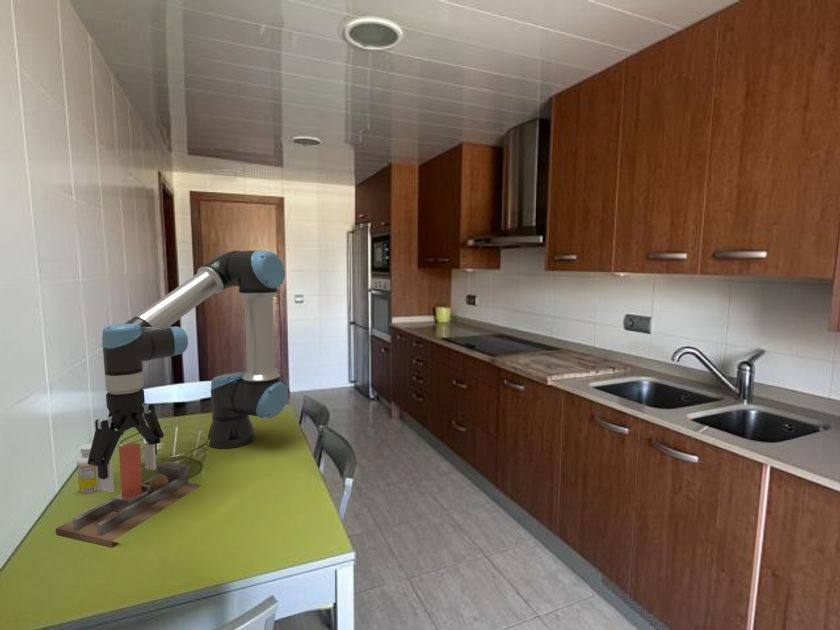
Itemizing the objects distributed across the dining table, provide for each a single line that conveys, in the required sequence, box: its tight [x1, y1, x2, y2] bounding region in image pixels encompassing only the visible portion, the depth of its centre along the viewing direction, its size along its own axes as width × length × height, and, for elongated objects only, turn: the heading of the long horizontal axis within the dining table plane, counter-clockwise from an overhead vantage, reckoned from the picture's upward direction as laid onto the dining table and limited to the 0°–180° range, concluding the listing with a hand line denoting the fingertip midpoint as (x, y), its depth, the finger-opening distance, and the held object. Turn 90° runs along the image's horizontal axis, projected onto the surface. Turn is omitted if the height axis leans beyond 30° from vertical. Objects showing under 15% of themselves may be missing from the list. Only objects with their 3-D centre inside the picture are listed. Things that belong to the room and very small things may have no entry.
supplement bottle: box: [76, 442, 104, 494], centre depth 118 cm, size 7×7×13 cm
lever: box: [112, 442, 151, 511], centre depth 109 cm, size 6×5×15 cm
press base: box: [55, 461, 202, 549], centre depth 110 cm, size 26×16×6 cm, turn 164°
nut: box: [149, 474, 169, 492], centre depth 117 cm, size 4×4×4 cm
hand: (130, 479), depth 108 cm, fingers open, 11 cm apart
